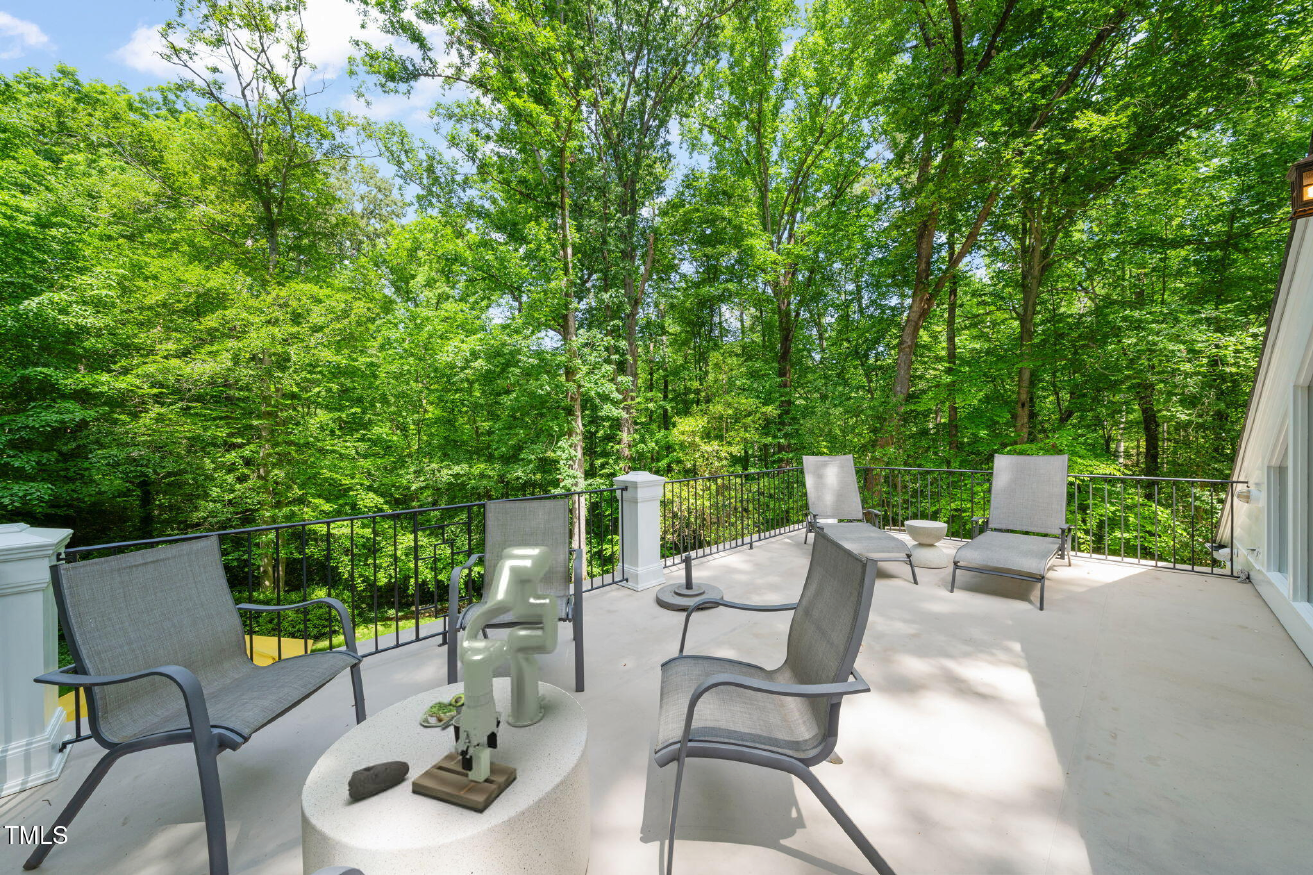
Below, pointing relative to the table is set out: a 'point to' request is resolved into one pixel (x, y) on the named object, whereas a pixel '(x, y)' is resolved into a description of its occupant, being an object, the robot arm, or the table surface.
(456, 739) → the coffee mug
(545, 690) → the table surface
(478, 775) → the fader
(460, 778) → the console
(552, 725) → the table surface
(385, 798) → the table surface
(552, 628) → the robot arm
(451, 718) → the salad plate
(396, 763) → the perforated stone tool
